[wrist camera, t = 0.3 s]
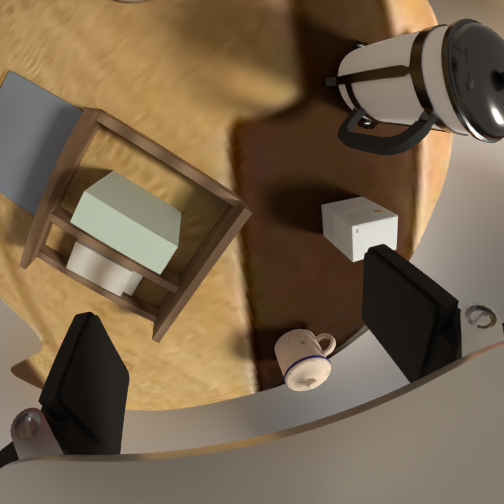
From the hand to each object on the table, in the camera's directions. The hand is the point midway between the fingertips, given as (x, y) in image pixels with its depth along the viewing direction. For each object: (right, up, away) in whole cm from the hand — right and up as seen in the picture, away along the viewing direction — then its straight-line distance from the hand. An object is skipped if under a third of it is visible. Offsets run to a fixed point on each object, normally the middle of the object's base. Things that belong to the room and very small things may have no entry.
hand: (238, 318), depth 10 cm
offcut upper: (-23, 0, +33) cm, 40 cm away
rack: (-18, +6, +33) cm, 38 cm away
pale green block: (-16, +9, +32) cm, 37 cm away
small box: (+16, +8, +39) cm, 43 cm away
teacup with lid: (+10, -15, +49) cm, 52 cm away
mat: (-35, +19, +23) cm, 46 cm away
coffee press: (+18, +28, +31) cm, 45 cm away
